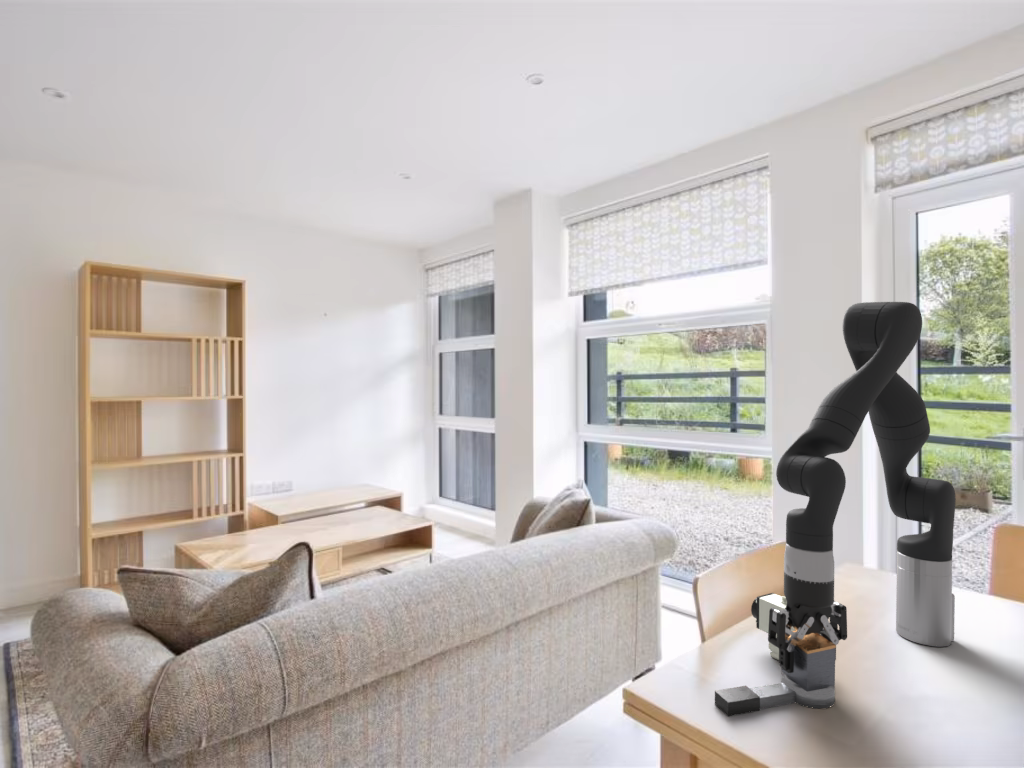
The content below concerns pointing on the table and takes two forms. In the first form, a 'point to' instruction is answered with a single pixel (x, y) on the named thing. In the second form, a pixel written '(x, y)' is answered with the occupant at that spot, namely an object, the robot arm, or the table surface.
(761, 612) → the pneumatic valve
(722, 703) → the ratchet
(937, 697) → the table surface
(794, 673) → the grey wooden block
